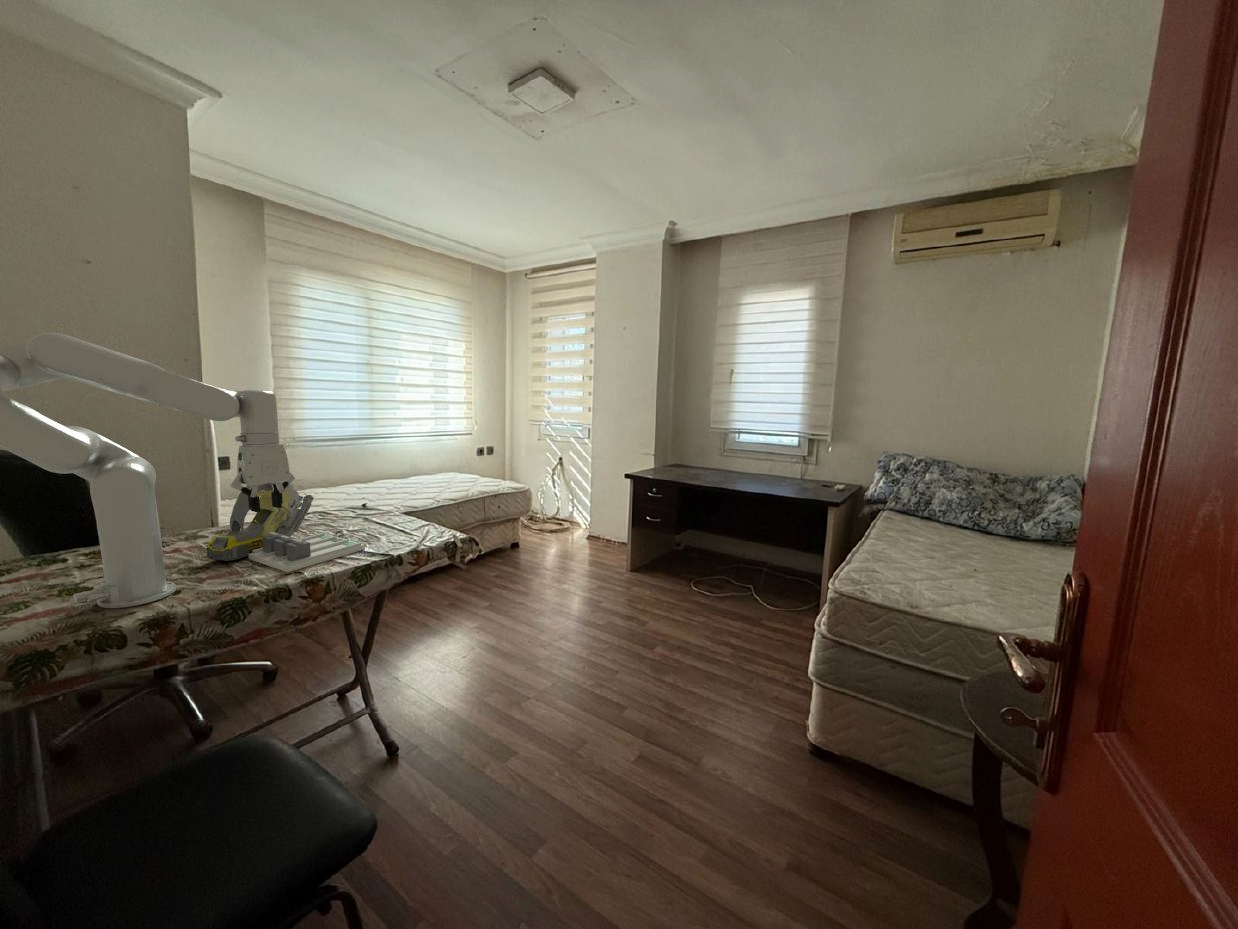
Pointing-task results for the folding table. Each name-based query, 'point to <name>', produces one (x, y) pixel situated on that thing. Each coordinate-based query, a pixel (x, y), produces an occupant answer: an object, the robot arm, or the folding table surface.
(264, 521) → the circular saw
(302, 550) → the tab near
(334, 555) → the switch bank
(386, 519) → the folding table surface
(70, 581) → the folding table surface
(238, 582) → the folding table surface
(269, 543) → the tab far
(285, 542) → the tab mid
